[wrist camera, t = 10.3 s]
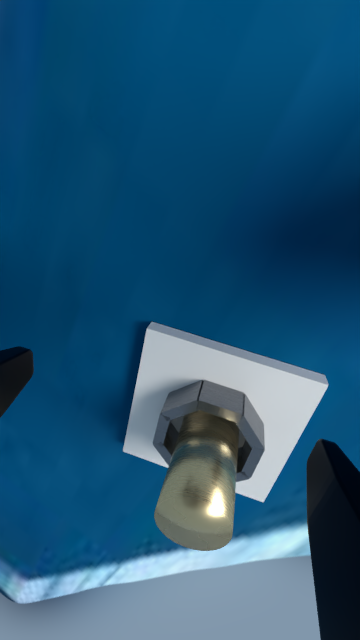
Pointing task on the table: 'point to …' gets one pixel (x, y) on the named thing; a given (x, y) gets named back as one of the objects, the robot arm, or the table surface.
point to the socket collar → (218, 404)
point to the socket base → (231, 371)
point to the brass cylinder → (200, 483)
